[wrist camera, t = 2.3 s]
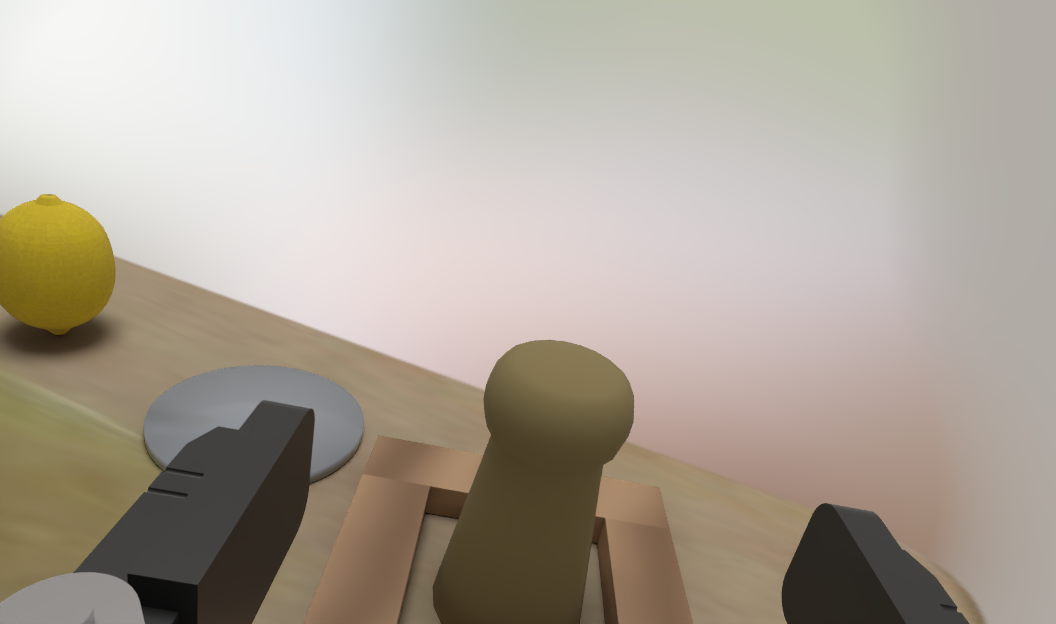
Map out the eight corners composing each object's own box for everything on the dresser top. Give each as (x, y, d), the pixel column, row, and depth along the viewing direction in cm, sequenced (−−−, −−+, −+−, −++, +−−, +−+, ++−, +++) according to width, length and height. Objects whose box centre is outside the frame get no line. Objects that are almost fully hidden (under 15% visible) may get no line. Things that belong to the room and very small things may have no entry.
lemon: (110, 358, 36) (103, 217, 33) (-19, 358, 34) (-39, 206, 31) (124, 313, 41) (119, 184, 37) (12, 310, 38) (-3, 173, 35)
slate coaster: (96, 470, 28) (95, 458, 28) (205, 360, 38) (205, 351, 37) (330, 511, 29) (331, 500, 29) (381, 394, 38) (382, 385, 38)
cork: (587, 675, 24) (675, 424, 20) (423, 653, 24) (477, 390, 19) (574, 553, 30) (641, 336, 26) (440, 533, 29) (485, 307, 25)
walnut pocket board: (266, 742, 20) (268, 709, 19) (374, 460, 33) (378, 435, 32) (716, 812, 21) (732, 781, 20) (650, 510, 34) (659, 487, 33)
